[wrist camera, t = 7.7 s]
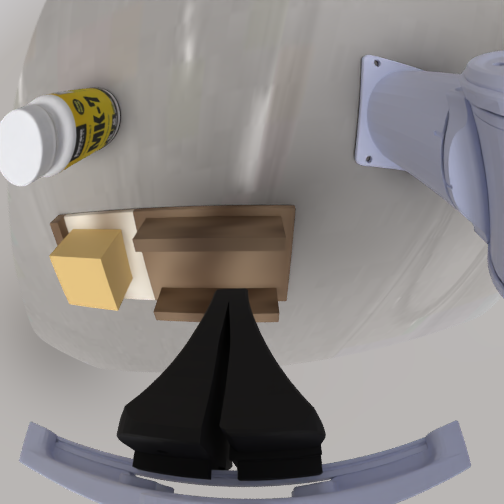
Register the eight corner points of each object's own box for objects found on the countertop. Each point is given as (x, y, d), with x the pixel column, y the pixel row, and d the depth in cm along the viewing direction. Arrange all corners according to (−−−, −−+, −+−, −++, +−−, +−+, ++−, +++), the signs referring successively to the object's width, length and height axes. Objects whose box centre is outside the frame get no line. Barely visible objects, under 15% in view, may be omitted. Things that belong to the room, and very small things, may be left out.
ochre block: (121, 229, 20) (100, 258, 17) (132, 278, 23) (118, 310, 19) (72, 229, 20) (49, 255, 16) (87, 274, 23) (69, 304, 19)
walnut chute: (294, 205, 20) (302, 229, 17) (285, 297, 25) (290, 326, 22) (58, 215, 19) (37, 235, 17) (87, 292, 24) (74, 316, 22)
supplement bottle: (124, 145, 17) (56, 191, 10) (72, 152, 17) (0, 199, 10) (120, 81, 14) (42, 90, 7) (67, 94, 14) (-15, 116, 7)
